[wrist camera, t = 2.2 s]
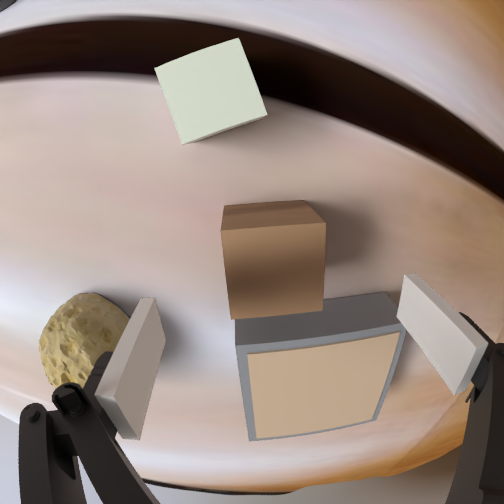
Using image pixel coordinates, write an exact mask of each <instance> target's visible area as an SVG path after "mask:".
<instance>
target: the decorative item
mask: <svg viewBox="0 0 504 504" xmlns="http://www.w3.org/2000/svg"><path fill="white" fill-rule="evenodd" d="M129 320H130V319H129V317H128V316H127V315H126V314H125V313H124V312H123V311H122V310H121V309H120V308H119V307H117V306H116V305H114V304H113V303H111V302H110V301H108V300H107V299H105V298H103V297H101V296H100V295H98V294H95V293H90V294H87V293H84V294H82V293H80V294H78V295H75V296H73V297H72V298H71V299H69V300H68V301H67V302H66V303H65V304H63V305H62V306H60V307H59V308H58V309H57V310H56V312H55V314H54V315H53V316H51V317H50V319H49V321H48V323H47V325H46V326H45V328H44V329H43V332H42V335H41V337H40V340H39V352H40V354H41V360H42V364H43V366H44V370H45V373H46V376H47V378H48V381H49V382H50V384H51V385H54V387H55V389H56V388H57V387H59V386H60V385H62V384H64V383H68V382H75V383H77V384H79V385H80V386H81V387H82V389H83V387H84V385H85V383H86V381H87V379H88V377H89V375H90V373H91V371H92V369H93V368H94V365H95V363H96V361H97V359H98V358H99V357H100V356H101V355H102V354H103V353H104V352H105V351H112V352H114V351H115V348H116V346H117V344H118V342H119V340H120V338H121V336H122V334H123V332H124V330H125V328H126V326H127V324H128V322H129Z"/></svg>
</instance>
